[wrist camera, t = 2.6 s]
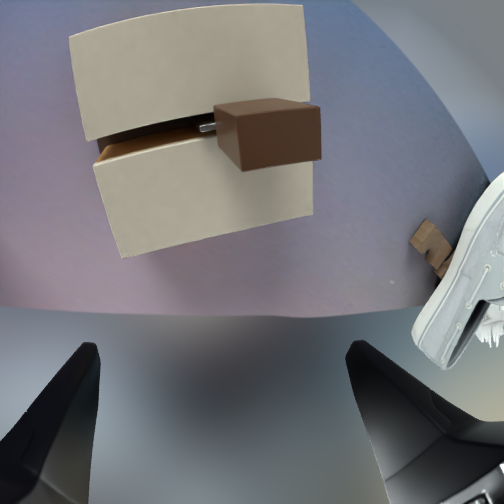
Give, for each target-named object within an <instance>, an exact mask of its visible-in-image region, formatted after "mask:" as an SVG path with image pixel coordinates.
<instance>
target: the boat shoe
mask: <svg viewBox="0 0 504 504" xmlns="http://www.w3.org/2000/svg"><path fill="white" fill-rule="evenodd" d="M491 303H492V304H495V305H501V306H504V172H503V173H501V174H500V175H499V176H498V177H497V178H496V179H495V180H494V181H493V182H492V183H491V184H490V185H489V186H488V188H487V189H486V190H485V192H484V193H483V194H482V196H481V197H480V198H479V200H478V201H477V203H476V205H475V206H474V208H473V210H472V212H471V213H470V215H469V217H468V219H467V221H466V223H465V226H464V228H463V231H462V233H461V236H460V239H459V242H458V245H457V247H456V250H455V253H454V255H453V258H452V261H451V264H450V266H449V268H448V270H447V272H446V274H445V276H444V278H443V279H442V281H441V282H440V284H439V285H438V287H437V288H436V290H435V291H434V293H433V294H432V296H431V297H430V299H429V300H428V302H427V303H426V305H425V306H424V308H423V309H422V311H421V312H420V314H419V316H418V317H417V319H416V321H415V323H414V325H413V328H412V337H413V341H414V343H415V345H416V346H417V347H418V348H419V349H420V350H421V351H423V352H424V353H425V355H426V356H427V357H428V358H429V359H430V360H432V361H433V362H435V364H437V365H438V366H439V367H440V368H441V369H442V370H444V371H447V370H449V369H451V368H452V367H453V366H454V365H455V364H456V362H457V361H458V360H459V358H460V357H461V355H462V354H463V352H464V351H465V349H466V348H467V346H468V344H469V343H470V341H471V339H472V338H473V336H474V334H475V333H476V331H477V329H478V327H479V326H480V324H481V322H482V320H483V318H484V316H485V314H486V312H487V310H488V309H489V307H490V305H491Z"/></svg>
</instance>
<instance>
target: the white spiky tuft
mask: <svg viewBox="0 0 504 504" xmlns="http://www.w3.org/2000/svg"><path fill="white" fill-rule="evenodd" d="M485 316H486V317H485ZM485 316H484V318H483V319H484V320H482V322H481V324H480V326H479V327H478V330H477V331H476V333H475V334H476V336H477V337H478V339H479V340H480V341H481V342H482V343H483V342H484V339H485V341H486V342H487V341H488V342H489V346H490V347H491V336H492V337H493V339H494V341H495V339H496V347H498V343H499V342H498V341H499V336H500V335H503V334H504V332H503V328H502V324H503V326H504V306H501V305H495V304H492V303H491V305H490V307H489V309H488V310H487V312H486V314H485ZM501 322H502V323H501Z"/></svg>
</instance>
